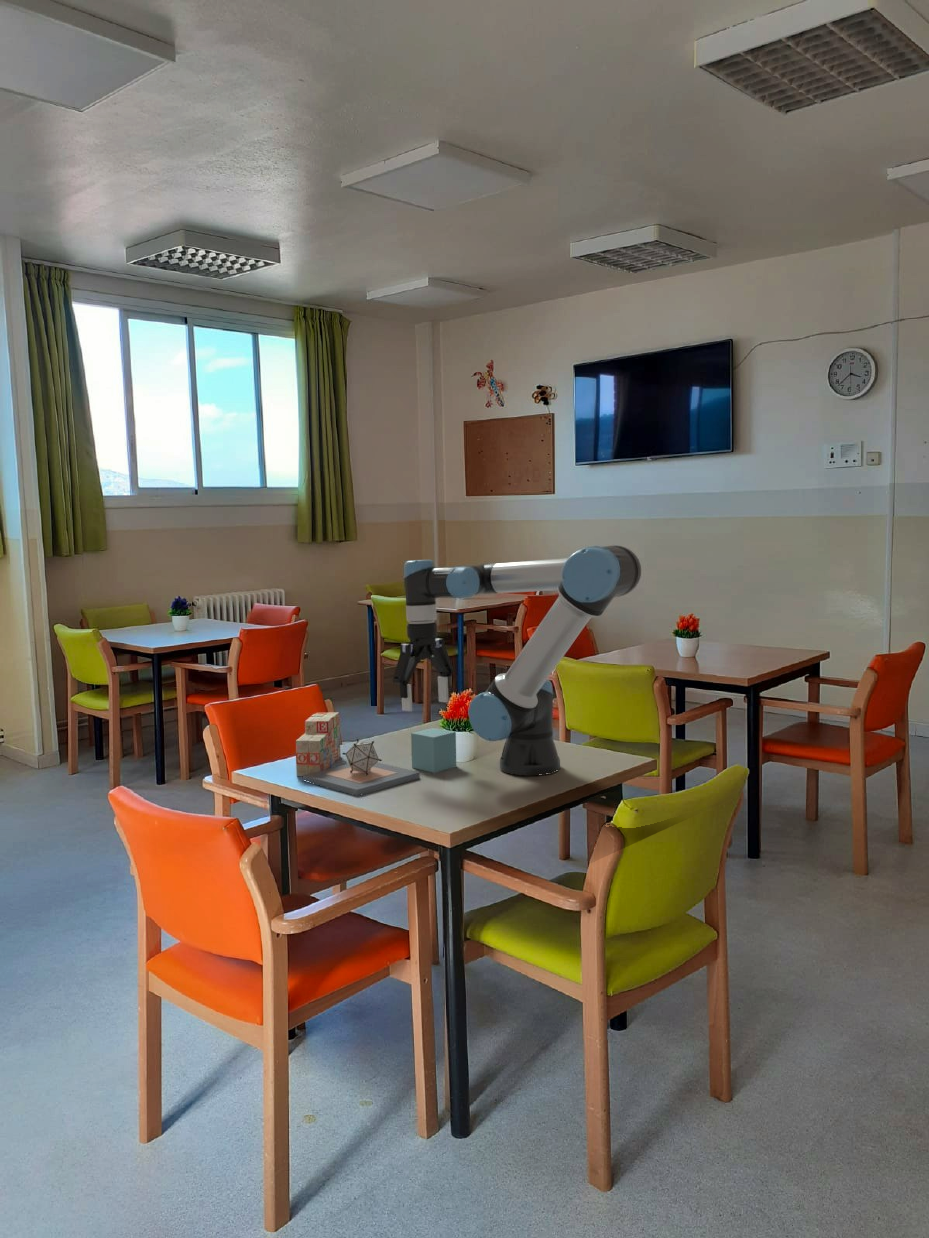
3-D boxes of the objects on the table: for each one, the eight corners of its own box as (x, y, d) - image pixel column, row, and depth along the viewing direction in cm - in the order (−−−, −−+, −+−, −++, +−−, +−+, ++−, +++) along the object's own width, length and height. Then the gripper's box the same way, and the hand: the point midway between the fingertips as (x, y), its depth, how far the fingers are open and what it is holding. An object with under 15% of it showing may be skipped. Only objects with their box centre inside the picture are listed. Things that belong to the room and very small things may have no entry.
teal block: (456, 766, 245) (455, 731, 244) (434, 772, 239) (433, 737, 238) (434, 761, 250) (433, 727, 249) (411, 767, 244) (411, 733, 243)
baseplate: (419, 778, 234) (419, 771, 234) (356, 796, 219) (356, 789, 219) (365, 765, 247) (365, 759, 247) (303, 781, 233) (302, 774, 233)
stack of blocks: (321, 777, 237) (319, 728, 235) (296, 777, 237) (294, 728, 236) (340, 756, 258) (339, 711, 257) (318, 756, 258) (316, 711, 257)
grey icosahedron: (357, 786, 235) (347, 749, 240) (389, 774, 235) (378, 737, 239) (344, 777, 227) (334, 739, 232) (378, 764, 227) (367, 726, 231)
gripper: (443, 617, 251) (447, 697, 253) (375, 626, 232) (380, 713, 234) (465, 617, 246) (469, 699, 248) (397, 627, 227) (402, 715, 229)
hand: (425, 706), depth 241 cm, fingers open, 13 cm apart
